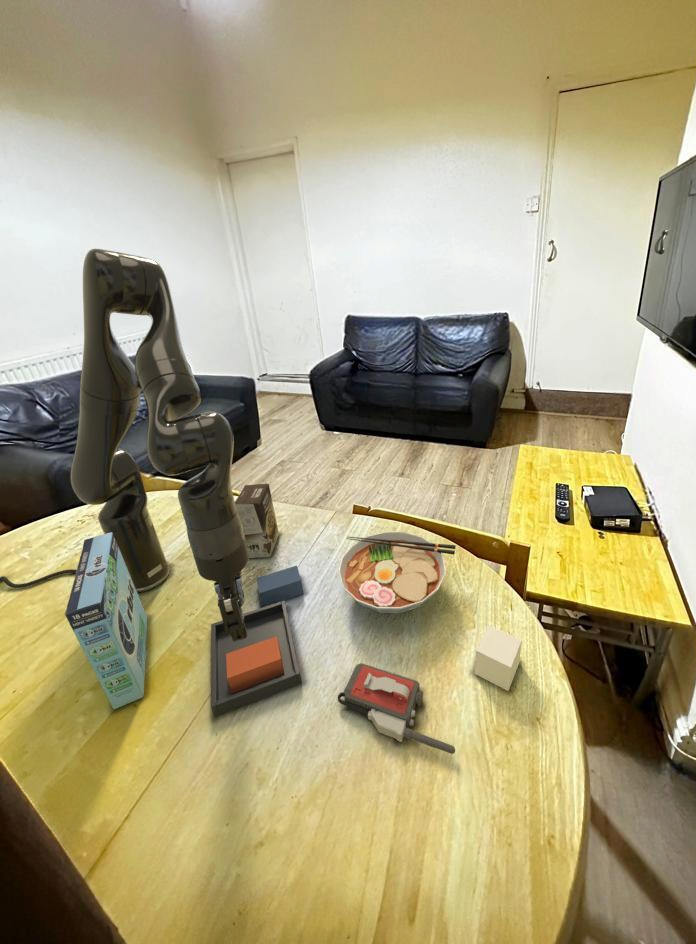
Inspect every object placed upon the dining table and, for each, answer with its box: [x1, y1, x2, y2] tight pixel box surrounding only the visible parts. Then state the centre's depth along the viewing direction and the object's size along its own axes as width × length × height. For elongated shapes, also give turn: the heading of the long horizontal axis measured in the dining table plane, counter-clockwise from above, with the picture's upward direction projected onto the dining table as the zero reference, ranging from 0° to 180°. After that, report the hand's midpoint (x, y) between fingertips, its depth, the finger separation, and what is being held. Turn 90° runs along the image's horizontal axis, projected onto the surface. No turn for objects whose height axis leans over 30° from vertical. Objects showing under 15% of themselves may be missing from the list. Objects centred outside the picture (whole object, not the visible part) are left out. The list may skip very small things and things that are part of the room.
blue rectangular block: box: [256, 565, 305, 608], centre depth 91 cm, size 9×5×4 cm, turn 111°
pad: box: [226, 636, 284, 693], centre depth 74 cm, size 9×5×4 cm, turn 111°
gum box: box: [64, 532, 148, 711], centre depth 74 cm, size 20×5×23 cm, turn 26°
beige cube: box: [474, 624, 523, 692], centre depth 72 cm, size 6×6×6 cm
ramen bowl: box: [337, 531, 457, 614], centre depth 89 cm, size 25×23×8 cm
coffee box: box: [234, 483, 280, 559], centre depth 103 cm, size 9×6×16 cm
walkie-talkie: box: [337, 662, 456, 755], centre depth 66 cm, size 9×4×20 cm
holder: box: [210, 600, 303, 718], centre depth 77 cm, size 15×18×3 cm
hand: (239, 617), depth 69 cm, fingers open, 8 cm apart
